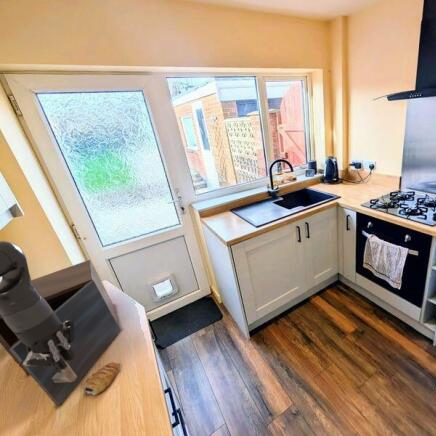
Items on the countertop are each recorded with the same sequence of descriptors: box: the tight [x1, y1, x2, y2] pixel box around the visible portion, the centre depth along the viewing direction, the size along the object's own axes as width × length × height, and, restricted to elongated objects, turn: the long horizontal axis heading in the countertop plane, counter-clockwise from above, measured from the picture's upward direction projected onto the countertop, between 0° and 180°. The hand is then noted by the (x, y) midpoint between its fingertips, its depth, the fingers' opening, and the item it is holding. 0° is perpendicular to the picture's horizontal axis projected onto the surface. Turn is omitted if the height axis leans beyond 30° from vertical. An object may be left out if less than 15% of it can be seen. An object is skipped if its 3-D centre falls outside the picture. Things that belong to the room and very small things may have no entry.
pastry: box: [82, 361, 120, 396], centre depth 76 cm, size 9×7×4 cm
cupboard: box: [0, 259, 119, 376], centre depth 90 cm, size 18×26×24 cm
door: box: [9, 281, 121, 407], centre depth 78 cm, size 7×26×24 cm, turn 178°
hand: (66, 363), depth 68 cm, fingers closed
